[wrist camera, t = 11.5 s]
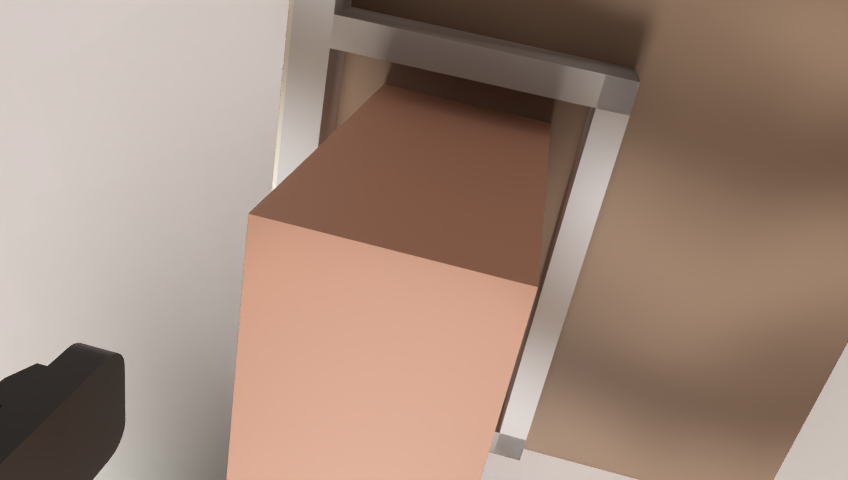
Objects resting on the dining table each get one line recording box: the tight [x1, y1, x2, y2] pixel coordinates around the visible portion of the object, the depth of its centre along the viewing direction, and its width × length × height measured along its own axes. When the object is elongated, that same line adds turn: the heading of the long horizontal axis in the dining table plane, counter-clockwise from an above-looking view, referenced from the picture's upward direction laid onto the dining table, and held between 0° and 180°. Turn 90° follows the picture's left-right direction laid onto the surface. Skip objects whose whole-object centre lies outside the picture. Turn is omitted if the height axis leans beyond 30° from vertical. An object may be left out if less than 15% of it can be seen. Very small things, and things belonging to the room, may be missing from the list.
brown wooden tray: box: [272, 0, 848, 480], centre depth 18 cm, size 24×16×4 cm
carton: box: [226, 84, 551, 480], centre depth 16 cm, size 5×8×9 cm, turn 169°
